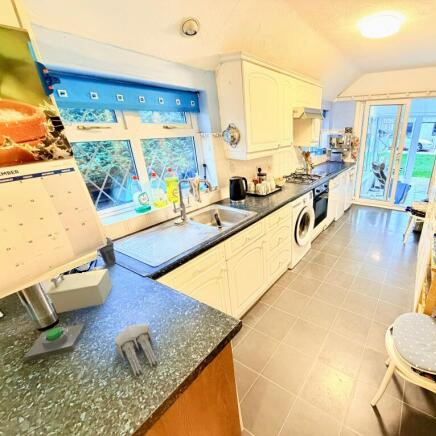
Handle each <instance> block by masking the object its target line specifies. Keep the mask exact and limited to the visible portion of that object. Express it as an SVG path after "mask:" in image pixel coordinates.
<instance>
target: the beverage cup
mask: <svg viewBox="0 0 436 436" xmlns="http://www.w3.org/2000/svg"><path fill="white" fill-rule="evenodd" d="M105 237H106V236H105ZM106 239H107V245H106V246H105V247H103V248H101V249H99V250H98V251H99V252H98V253H99V254H100V255H101V258H102V260H103V262H104V264H105V266H107V267H111V266H114V265H115V264H116V263H117V261H116V254H115V248H114V241H113V240H112V239H111V238H110V237H106Z"/></svg>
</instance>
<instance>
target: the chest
mask: <svg viewBox="0 0 436 436" xmlns="http://www.w3.org/2000/svg"><path fill="white" fill-rule="evenodd" d="M113 287H114V285H113V282H112V279H111V275H110V271H109V270H108V271H107V272H106V274H105V276H104V277H103V279H102V281H101V282H100V284H99V286H98V287H92V288H87V289H81V290H75V291H69V292H63V293H57V294H51V295H48V296H49V298H50V301H51V303H52V305H53V307H54V310H55V312H56V314H60V313H65V312H70V311H74V310H76V311H77V310H81V309H84V308H85V309H86V308H90V307H94V306H101V305H105V304H106V303H105V302H107V299H108V297H109V296H110V293H111V291H112V289H113Z"/></svg>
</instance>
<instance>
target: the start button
mask: <svg viewBox="0 0 436 436" xmlns="http://www.w3.org/2000/svg"><path fill="white" fill-rule="evenodd" d="M60 328H61V327H54V328H52V329H50V330H49V331H48V330H47V331H46V332H47V333H46V337H47V339H48V340H53V339H56V338H58V337H59V336H60V335H62V331H61V329H60Z"/></svg>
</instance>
